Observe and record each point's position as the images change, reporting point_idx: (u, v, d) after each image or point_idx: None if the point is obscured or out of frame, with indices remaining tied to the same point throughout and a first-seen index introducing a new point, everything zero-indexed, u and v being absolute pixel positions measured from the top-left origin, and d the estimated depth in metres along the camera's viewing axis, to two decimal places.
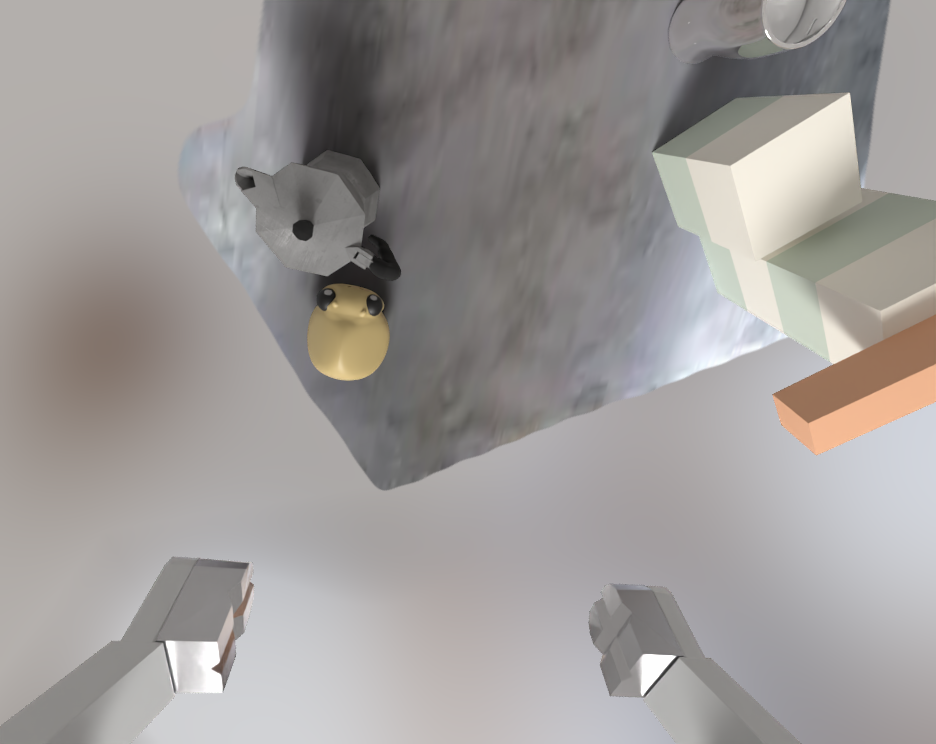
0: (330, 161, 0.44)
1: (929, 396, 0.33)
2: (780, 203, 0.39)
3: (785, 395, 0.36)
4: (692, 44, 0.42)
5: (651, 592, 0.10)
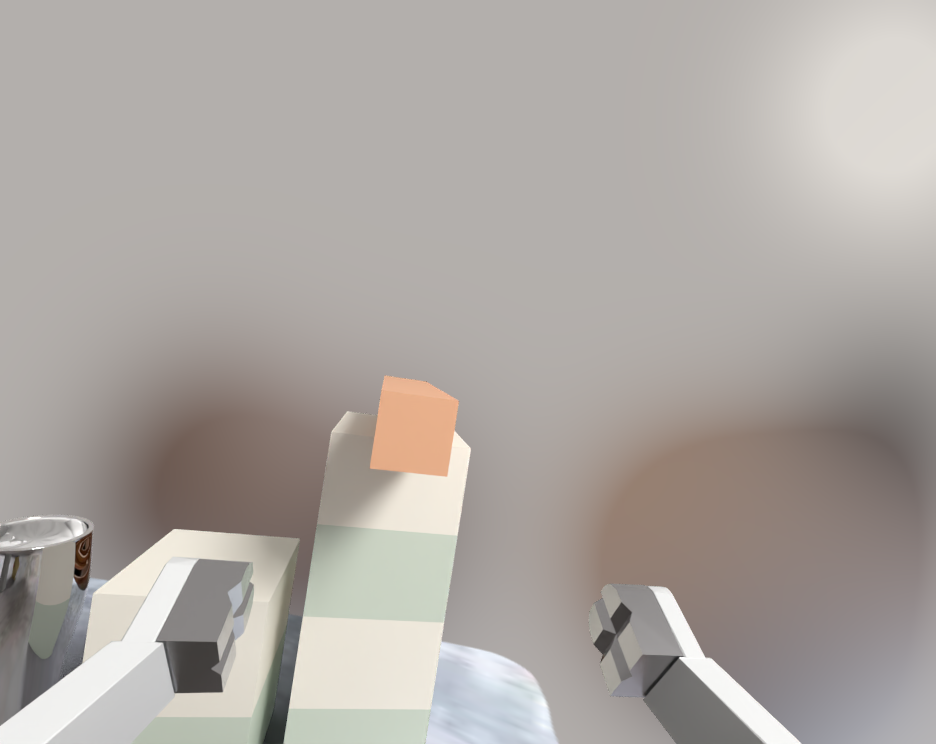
0: None
1: (427, 387, 0.31)
2: None
3: None
4: None
5: (651, 592, 0.10)
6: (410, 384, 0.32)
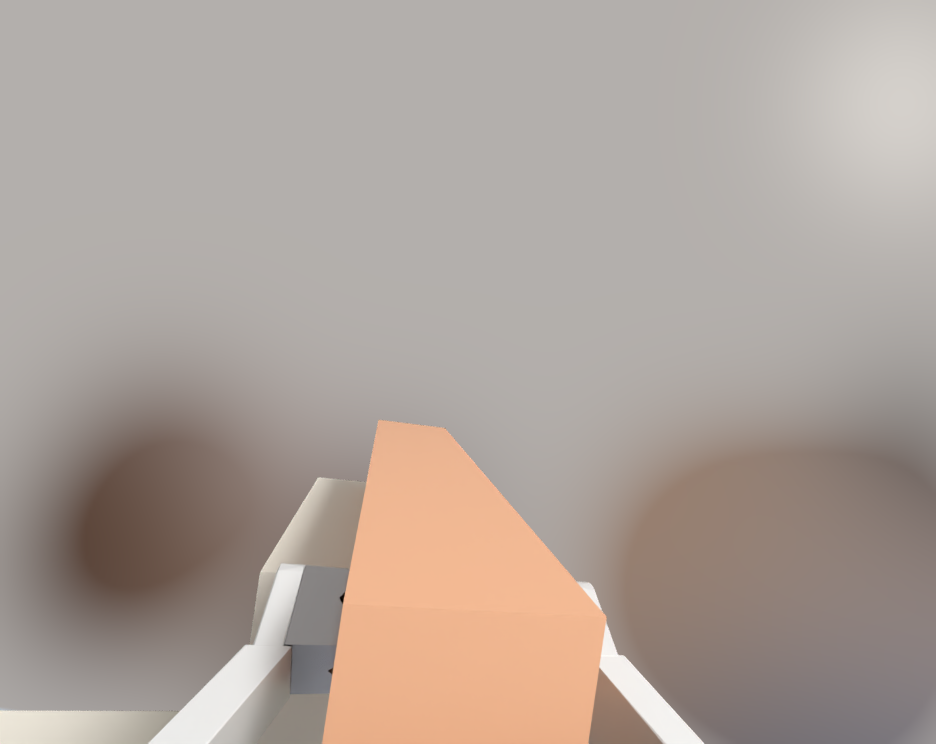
0: None
1: (461, 473, 0.15)
2: None
3: None
4: None
5: None
6: (425, 461, 0.16)
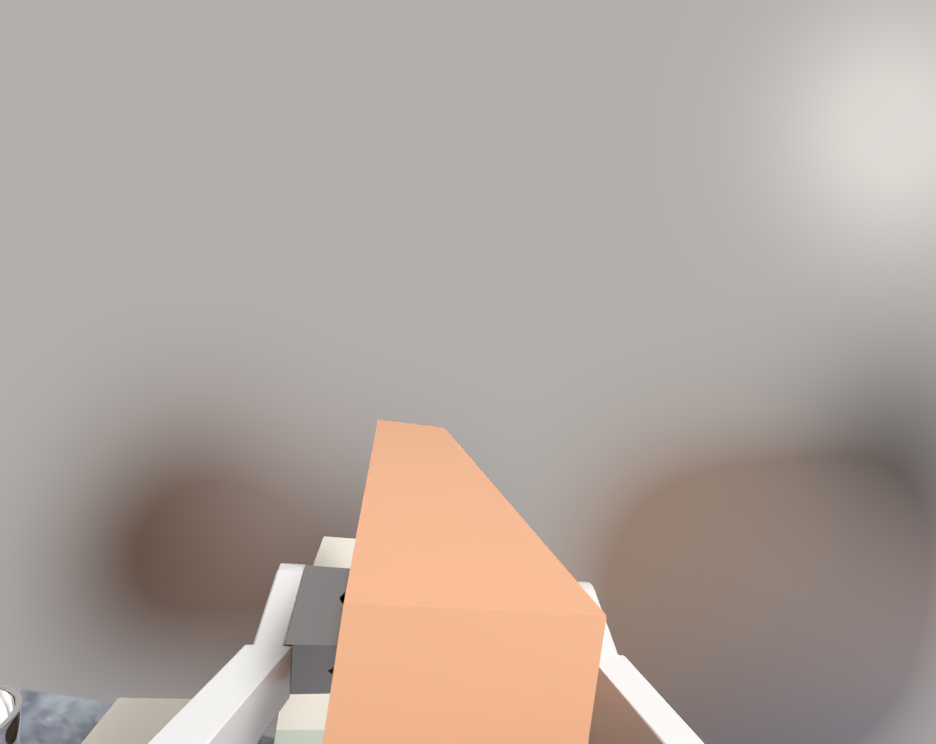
0: None
1: (461, 473, 0.15)
2: None
3: None
4: None
5: None
6: (424, 460, 0.16)
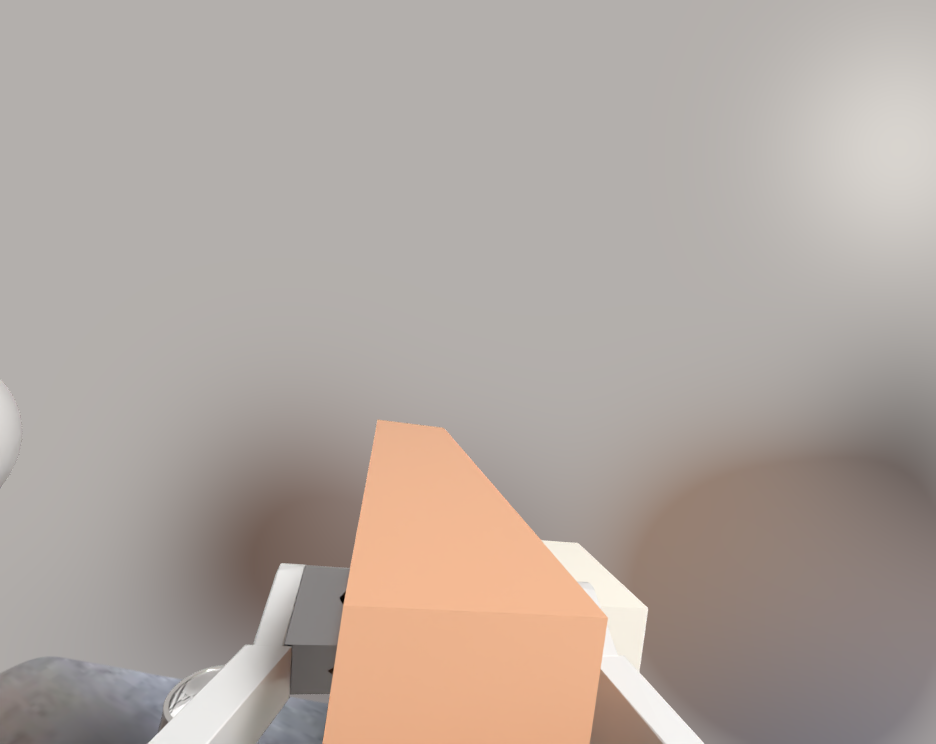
0: None
1: (460, 473, 0.15)
2: None
3: None
4: None
5: None
6: (424, 461, 0.16)
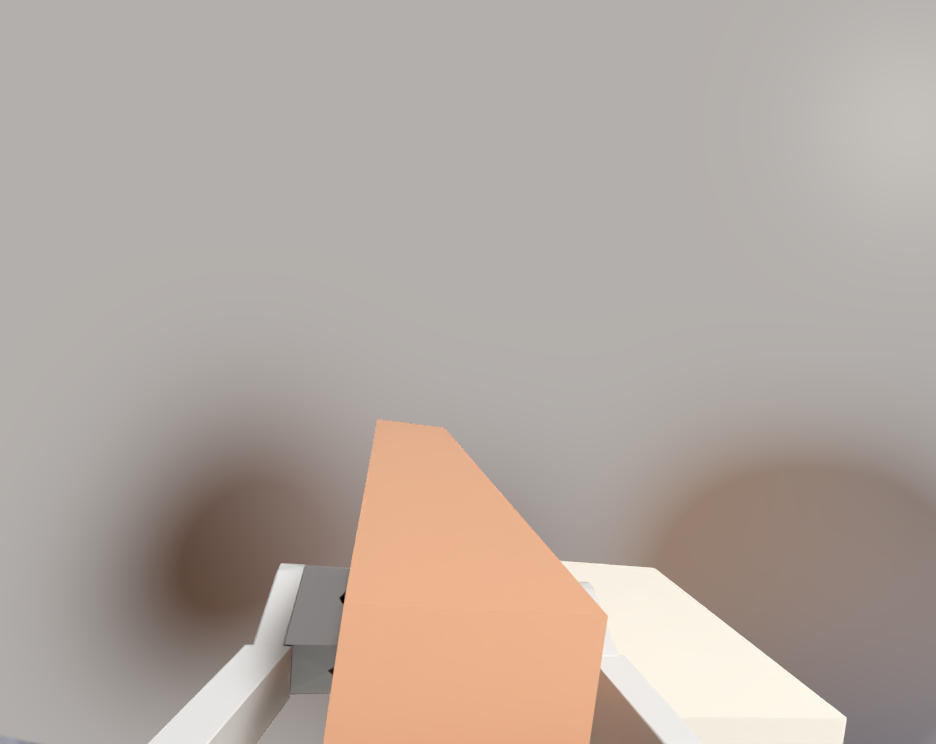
0: None
1: (461, 472, 0.15)
2: None
3: None
4: None
5: None
6: (424, 460, 0.16)
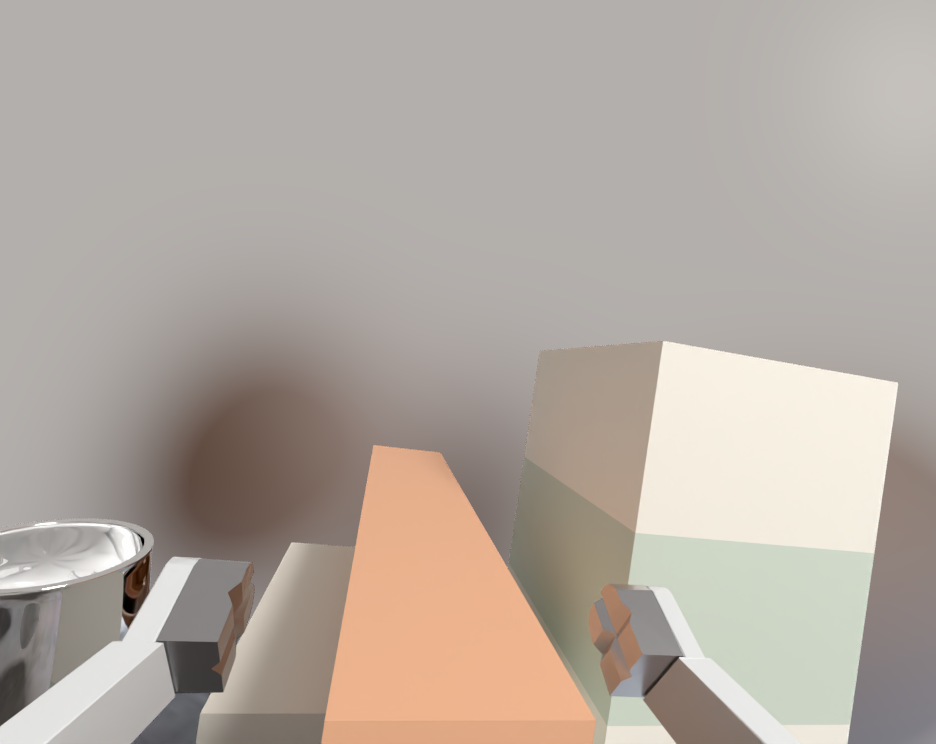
0: None
1: (454, 517, 0.15)
2: None
3: None
4: None
5: (650, 592, 0.10)
6: (418, 502, 0.16)
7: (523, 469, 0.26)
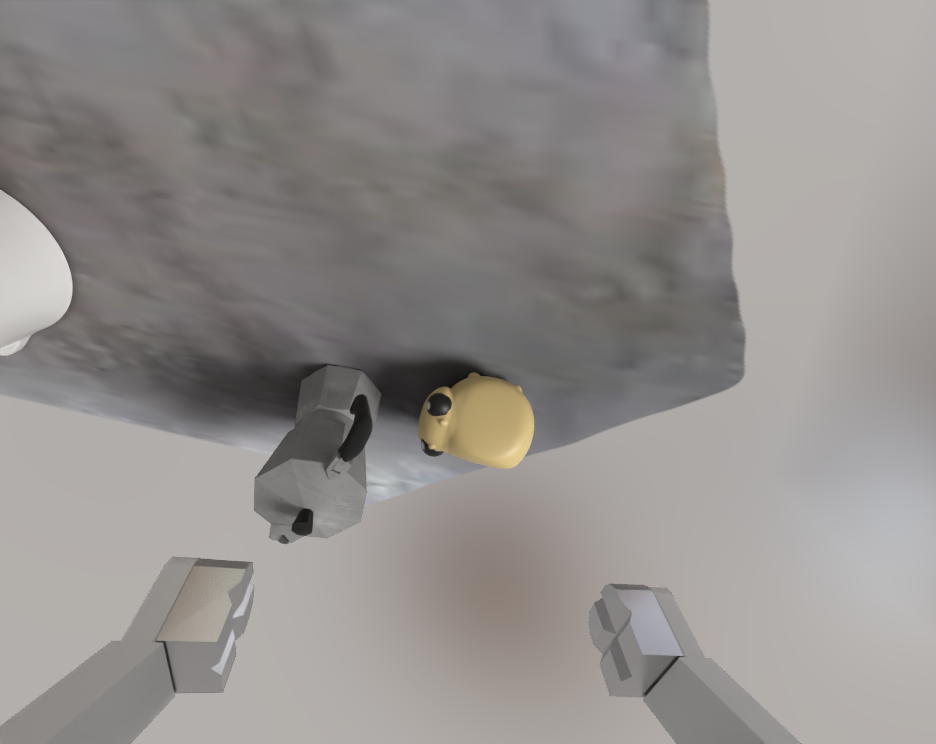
0: None
1: None
2: None
3: None
4: None
5: (651, 591, 0.10)
6: None
7: None
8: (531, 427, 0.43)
